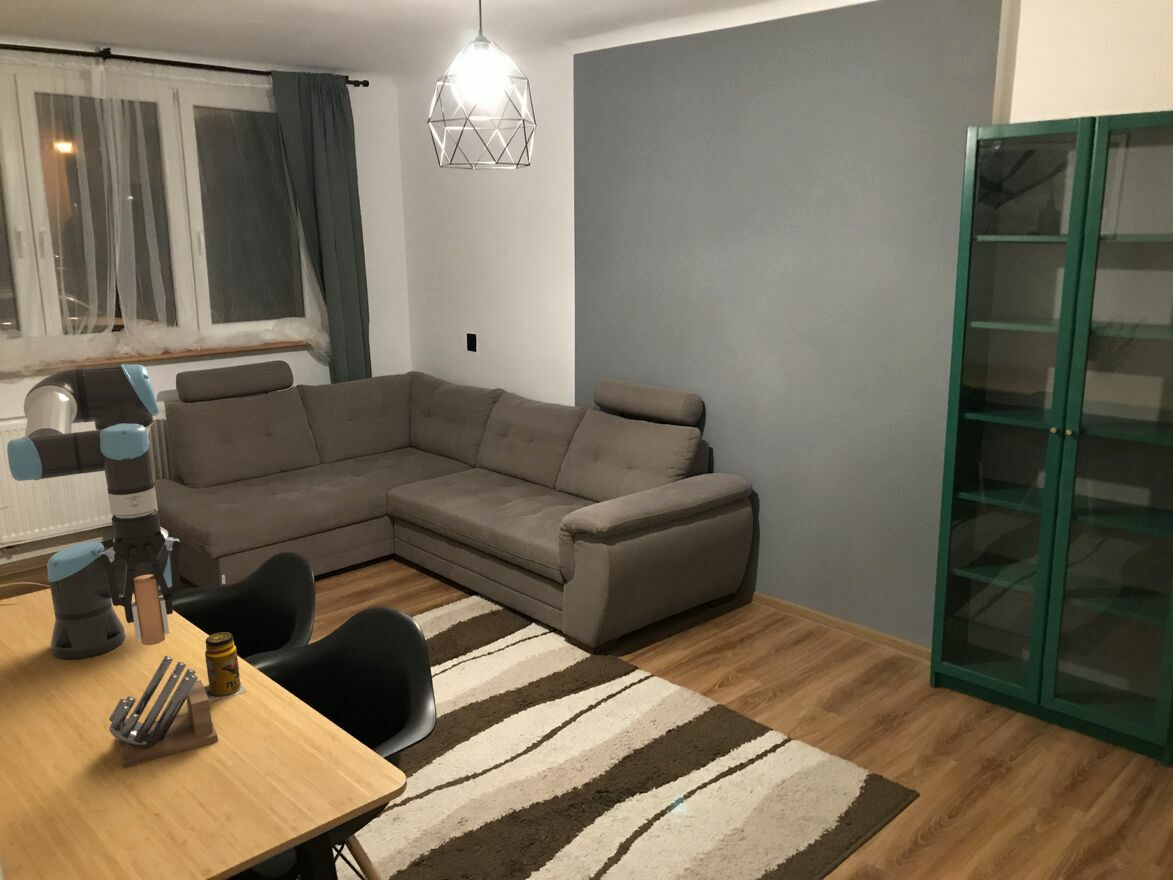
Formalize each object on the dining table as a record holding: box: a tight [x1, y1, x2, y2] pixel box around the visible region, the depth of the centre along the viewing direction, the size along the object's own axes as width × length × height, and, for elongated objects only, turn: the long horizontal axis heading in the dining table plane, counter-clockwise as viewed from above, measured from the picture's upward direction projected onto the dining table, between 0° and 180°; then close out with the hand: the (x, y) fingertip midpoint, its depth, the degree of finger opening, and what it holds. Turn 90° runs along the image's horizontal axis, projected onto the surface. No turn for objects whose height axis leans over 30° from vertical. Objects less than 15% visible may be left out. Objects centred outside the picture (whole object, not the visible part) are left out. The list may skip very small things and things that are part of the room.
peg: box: [133, 575, 166, 646], centre depth 169 cm, size 4×4×12 cm
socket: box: [108, 655, 199, 749], centre depth 173 cm, size 10×16×15 cm, turn 121°
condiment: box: [203, 631, 247, 703], centre depth 191 cm, size 7×8×12 cm
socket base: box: [117, 679, 219, 769], centre depth 174 cm, size 12×16×8 cm
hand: (152, 634), depth 170 cm, fingers closed on peg, 4 cm apart
